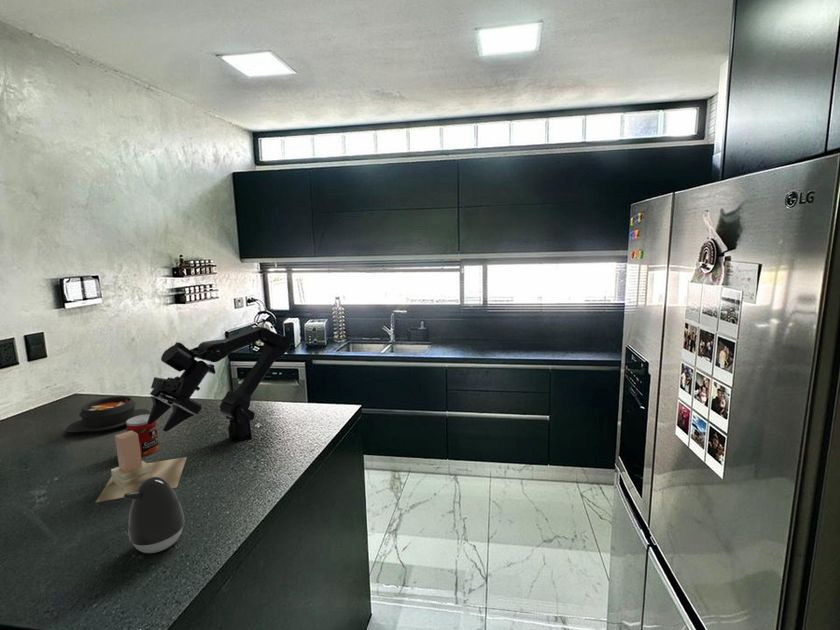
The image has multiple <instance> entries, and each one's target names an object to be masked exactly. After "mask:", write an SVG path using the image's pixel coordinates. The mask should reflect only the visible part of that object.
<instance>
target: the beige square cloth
mask: <svg viewBox="0 0 840 630" xmlns="http://www.w3.org/2000/svg"><path fill="white" fill-rule="evenodd" d="M187 458H188V457H187V456H184V457H177V458H173V459H167V460H159V461H154V462H147V463H148V464H149V465H151V469H152V477H160V478H162V479H164V480H165V481H166V482H167V483H168V484H169V485H170V486H171V487H172V489H175V488H177V487H178V485H179V482H180V479H181V476H182V473H183V469H184V467H185V464H186V460H187ZM141 483H142V482H141ZM141 483H139V484H136V485H134V486H132V487H129V488H127V489H123V488H121V487H120V486H118V485H117V484H115V483H114V482H113V480H112V476H111V477H110V478H109V480H108V482H107V484H106V485H105V486H104V488H103V490H102V491H101V493H100V494H99V496H98V498H96V500H95V503H101V502H107V501H112V500H117V499H122V498H124V495H125V494H126V493H132V492H136V491H137V489H138V487H139V485H140V484H141Z"/></svg>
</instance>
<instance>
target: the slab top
mask: <svg viewBox="0 0 840 630" xmlns="http://www.w3.org/2000/svg"><path fill="white" fill-rule="evenodd" d="M148 463H149V462H146V461H144V460H142V467H140V468H138V469H135V470H132V471H130V472H127V473H125V472H124V471H122V470H120V469H119V466H115V467H114V468H111V469H110V472H111V477H112V476H113V477H115V478H116V479H118V480H119V481H121V482H122V483H125V482H127V481H130V480H132V479H135V478H137V477H140V476H142V475H145V474H147V473H150V472H152V469H151V465H149V464H148Z"/></svg>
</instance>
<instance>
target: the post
mask: <svg viewBox="0 0 840 630" xmlns="http://www.w3.org/2000/svg"><path fill="white" fill-rule="evenodd" d="M114 440H115V447H116V454H117V455H116V456H117V461H118V467H119V469H120V470H122V471H124V472H125V473H127V472H130V471H132V470H135V469H138V468H140V467H142V461H143V460H142V456H141V453H140V445H139V438H138V434H137V433H136V432H134V431H132V430H131V431H128V432H127V431H124V432H121V433H119V434H116V435H114Z"/></svg>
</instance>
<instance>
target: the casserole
mask: <svg viewBox="0 0 840 630" xmlns="http://www.w3.org/2000/svg"><path fill="white" fill-rule="evenodd" d="M136 406H137V402H136V401H134V399H133V397H131V396H127V395H126V396H123V395H120V396H110V397H109V396H108V397H105V398H100V399H96V400H93V401H91V402H88V403H86V404H85V405H83V406H82V407H81V410H80V412H79V413H78V417H80V418H81V419H79V420H76V421H73V422H72V423H70V424H69V425H68V426H67V427H66V428H65V430H66V432H67V433H68V432H69V433H73V434H74V433H82V432H83V433H84V432H104V431H112V430H115V429H119V428H121V427H123V426H127V425H126V421H127V420H128V419H130V418H132V417H135V416H139V415H146V414H150V413H151V410H149V409H147V408H138V409H137V408H135V407H136Z"/></svg>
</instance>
